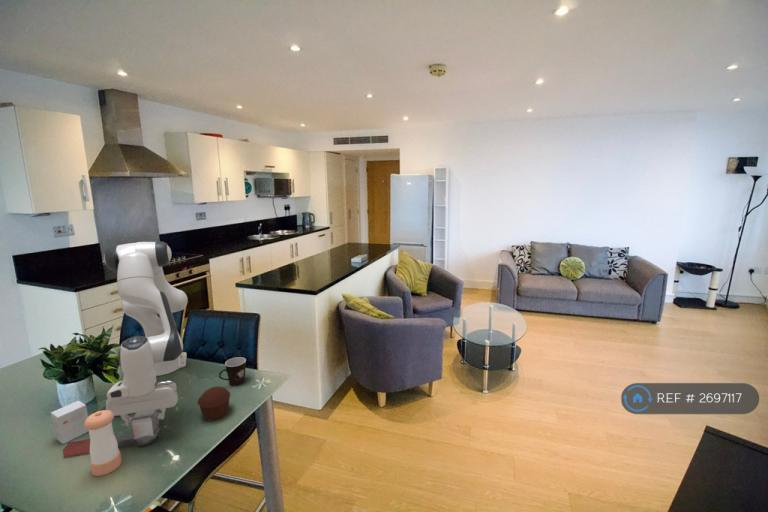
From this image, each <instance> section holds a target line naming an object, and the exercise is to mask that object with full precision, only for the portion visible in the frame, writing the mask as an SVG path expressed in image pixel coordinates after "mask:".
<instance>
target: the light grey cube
mask: <svg viewBox="0 0 768 512" xmlns="http://www.w3.org/2000/svg"><path fill="white" fill-rule="evenodd" d="M158 415H159V413H158V409H156V410H150V411H143V412H137V413H135V415H134V416H133V419H132V424H131V425H132V430H133V431H132V433H134V439H138V438H144V437H150V436H154V434H155V432H156V430H157V428H158V427H159V426H160V423H159V420H158Z"/></svg>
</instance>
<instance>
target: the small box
mask: <svg viewBox="0 0 768 512" xmlns="http://www.w3.org/2000/svg"><path fill="white" fill-rule="evenodd" d="M87 409H88V408H87V405H86V404H85V403H83V402H82V401H80V400H76V401H74V402H72V403H70V404H67V405H65V406H63V407H60V408H58V409H56V410H54V411H51V412H50V416H51V422H52V426H53V427H52V428H53V432H54V436H55V437H54V438H55V440H56V441H58V442H59V443H61V444H62V445H64V444H66V443H67V444H68V443H69V442H70V441H71V442H72V440H74V439H77V438H78V437H80V436H82V435H85V434H86V433H89V430H88V429H86V428H85V427H84V422H85V420H86V419H87V417H89V414H88V410H87Z"/></svg>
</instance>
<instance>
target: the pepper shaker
mask: <svg viewBox="0 0 768 512" xmlns="http://www.w3.org/2000/svg"><path fill="white" fill-rule="evenodd" d="M114 418H115V416H114V414H113V412H111V411H109V410H106V409H104V410H97V411H96V412H94V413H93V412H92V413H91V414H90V415H88V417H87V419H86V420H85V422H84V427H85V428H86V429H88V430H89V431H88V434H89V439H90V453H89V455H90V456H89V457H90V462H89V463H90V469H91V474H92V475H93V476H96V477H100V476H104V475H107V474H110V473H112V472H113V471H115V470H117V469H118V468H119V467H120V466H121V464H122V462H123V461H122V455H121V451H120V449H119V448H118V443H117V440H116V438H115V436H116V435H115V433H114V428H113V420H114Z"/></svg>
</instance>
